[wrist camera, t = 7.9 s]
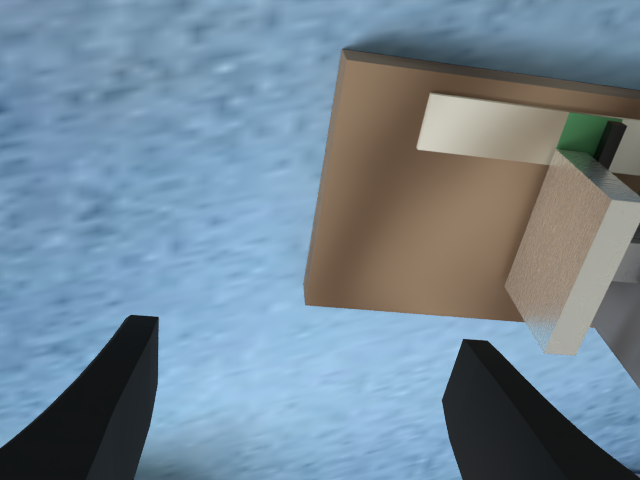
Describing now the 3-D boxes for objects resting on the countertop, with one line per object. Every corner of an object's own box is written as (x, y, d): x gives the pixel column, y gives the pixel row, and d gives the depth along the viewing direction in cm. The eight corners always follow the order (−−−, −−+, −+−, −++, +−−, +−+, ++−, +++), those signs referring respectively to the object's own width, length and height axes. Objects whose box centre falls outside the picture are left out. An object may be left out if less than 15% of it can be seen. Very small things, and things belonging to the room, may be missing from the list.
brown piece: (840, 118, 23) (1020, 190, 18) (717, 318, 28) (827, 424, 22) (342, 49, 20) (368, 108, 15) (303, 284, 25) (312, 394, 20)
